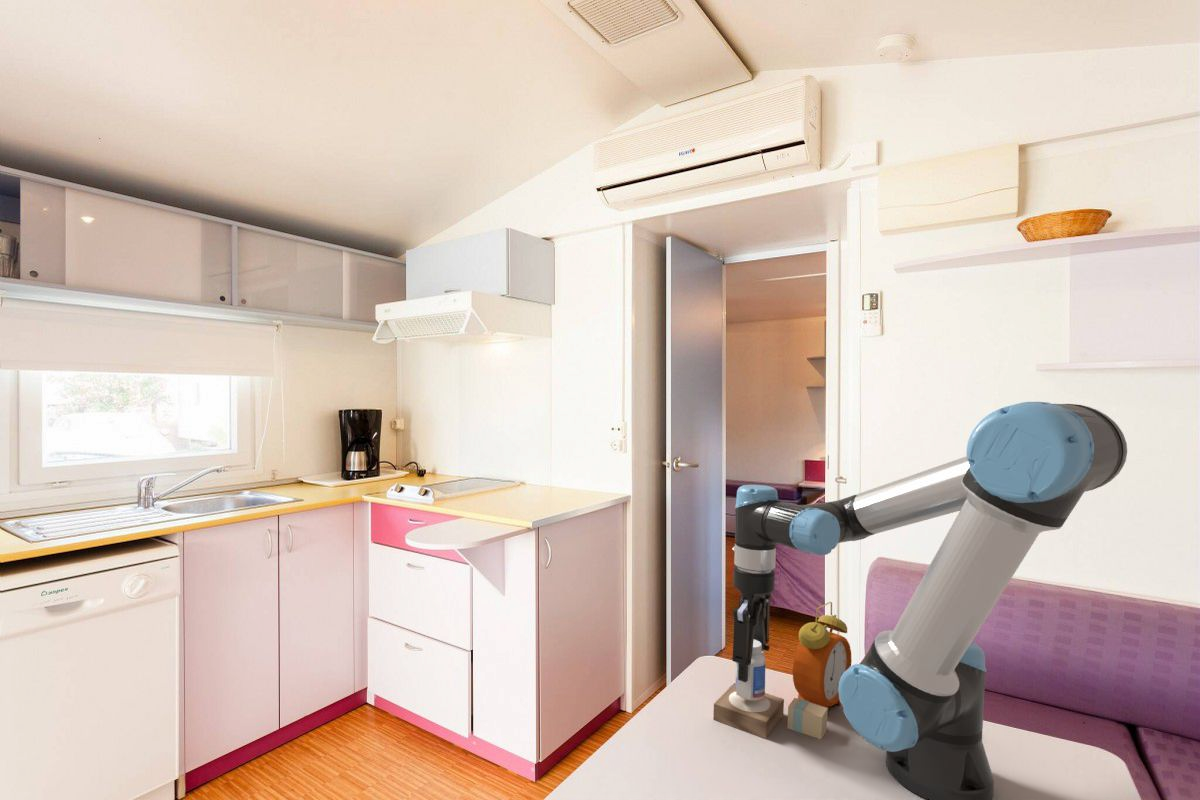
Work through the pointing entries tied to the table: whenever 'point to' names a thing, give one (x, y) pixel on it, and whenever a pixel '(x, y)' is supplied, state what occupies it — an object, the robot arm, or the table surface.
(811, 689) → the alarm clock
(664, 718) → the table surface
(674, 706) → the table surface
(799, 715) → the carton
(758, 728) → the podium
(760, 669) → the pill bottle
